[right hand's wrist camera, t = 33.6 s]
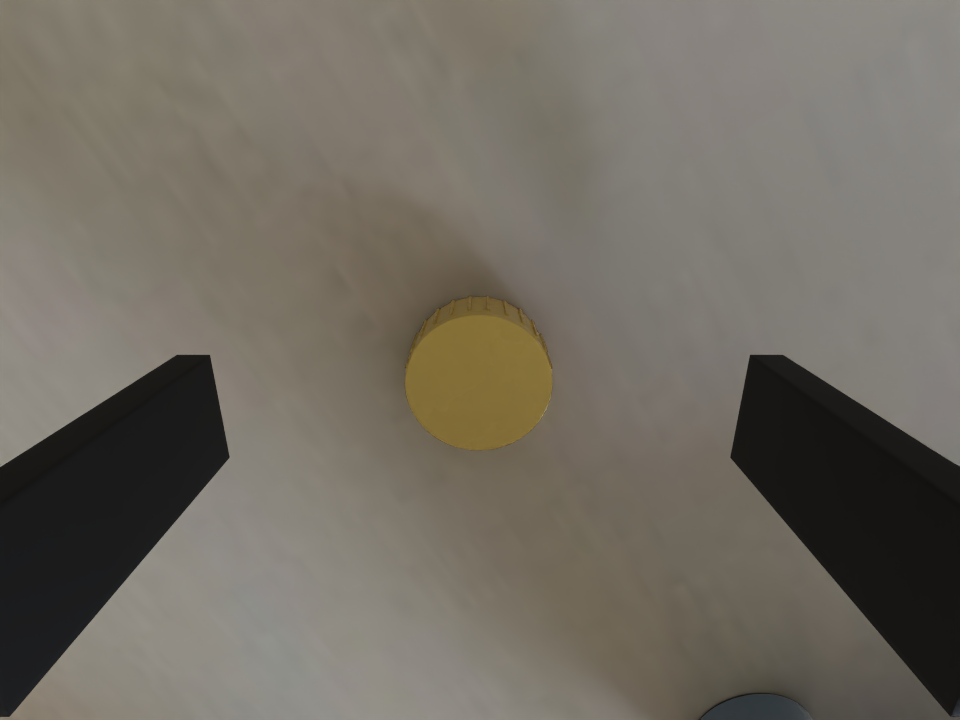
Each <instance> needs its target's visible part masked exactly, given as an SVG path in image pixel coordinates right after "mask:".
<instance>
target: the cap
mask: <svg viewBox="0 0 960 720" xmlns="http://www.w3.org/2000/svg"><path fill="white" fill-rule="evenodd" d="M547 352H548V351H547V348H546V345H545V342H544V340H543V337H542V334H539V333H538V331H537V329H536V327H535V324H534V321H533V320H531V321H530V320H529V318H528V317H527V316H526V315H525V314H523V313H522V310H521V309H520V308H519V309H517V308H515V307H514V306H512V305H510V304H508V303H507V302H506V301H505V300H503V301H500V300H497V299H493V298H489V296H486V297H472V296H469V298H465V299H460V300H457V301H455V300H452V301H451V303H449V304H448V305H446V306H444V307H442V308H441V309H439V308H437V309H436V312H435V313H434V314H433V315H432V316H431V317H430V318H429V319H428V320H426V319H425V321H424V323H423V326H422V329H421V330H420V332H419V334H418V333H416V336H415V338H414V341H413V344H412V346H411V349H410V355H409V357H408V360H407V363H406V365H405V368H406V374H405V390H406V397H407V400H408V403H409V406H410V408H411V410H412V412H413V414H414V416H415V417H416V419H417V420H418V422H419V423H420V424H421V425H422V426H423V427H424V428H425V429H426V430H427V431H428V432H429V433H430V434H432V435H433V436H434V437H436V438H437V439H439V440H441V441H443V442H444V443H447V444H449V445H452V446H454V447H458V448H462V449H468V450H490V449H495V448H500V447H503V446H506V445H509V444H511V443H513V442H515V441H517V440H518V439H520V438H522V437H523V436H525V435H526V434H527V433H528V432H530V431H531V430H532V429H533V428H534V427H535V426H536V425H537V423H538V422H539V421H540V419H541V418H542V416H543V415H544V413H545V411H546V409H547V407H548V404H549V401H550V398H551V393H552V384H553V383H552V372H551V369H552V364H551V362H550V359H549V356H548V353H547Z"/></svg>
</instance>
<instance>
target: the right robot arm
mask: <svg viewBox="0 0 960 720" xmlns="http://www.w3.org/2000/svg"><path fill="white" fill-rule="evenodd" d="M229 458H230V457H229V452H228V447H227V441H226V436H225V431H224V426H223V421H222V415H221V410H220V405H219V400H218V395H217V389H216V384H215V379H214V374H213V369H212V363H211V358H210V355H176V356H175V357H173V358H171V359H170V360H168V361H167V362H165V363H164V364H162V365H160V366H159V367H157V368H156V369H154V370H153V371H151V372H149V373H148V374H146V375H145V376H143V377H142V378H140V379H138V380H137V381H135V382H134V383H132V384H131V385H129V386H127V387H126V388H124V389H123V390H121V391H120V392H118V393H116V394H115V395H113V396H112V397H110V398H109V399H107V400H105V401H104V402H102V403H101V404H99V405H98V406H96V407H94V408H93V409H91V410H90V411H88V412H87V413H85V414H83V415H82V416H80V417H79V418H77V419H75V420H74V421H72V422H71V423H69V424H68V425H66V426H64V427H63V428H61V429H60V430H58V431H57V432H55V433H53V434H52V435H50V436H49V437H47V438H46V439H44V440H42V441H41V442H39V443H38V444H36V445H35V446H33V447H31V448H30V449H28V450H27V451H25V452H24V453H22V454H20V455H19V456H17V457H16V458H14V459H13V460H11V461H9V462H8V463H6V464H5V465H3V466H2V467H0V717H10V716H11V714H12V713H13V712H14V711H15V710H16V708H17V707H18V706H19V705H20V704H21V703H22V701H23V700H24V699H25V698H26V697H27V696H28V694H29V693H30V692H31V691H32V690H33V688H34V687H35V686H36V685H37V684H38V683H39V681H40V680H41V679H42V678H43V677H44V675H45V674H46V673H47V672H48V671H49V670H50V668H51V667H52V666H53V665H54V664H55V663H56V661H57V660H58V659H59V658H60V657H61V655H62V654H63V653H64V652H65V651H66V650H67V648H68V647H69V646H70V645H71V644H72V643H73V641H74V640H75V639H76V638H77V637H78V635H79V634H80V633H81V632H82V631H83V630H84V628H85V627H86V626H87V625H88V624H89V622H90V621H91V620H92V619H93V618H94V617H95V615H96V614H97V613H98V612H99V611H100V610H101V608H102V607H103V606H104V605H105V604H106V602H107V601H108V600H109V599H110V598H111V597H112V595H113V594H114V593H115V592H116V591H117V589H118V588H119V587H120V586H121V585H122V584H123V582H124V581H125V580H126V579H127V578H128V577H129V575H130V574H131V573H132V572H133V571H134V569H135V568H136V567H137V566H138V565H139V564H140V562H141V561H142V560H143V559H144V558H145V557H146V555H147V554H148V553H149V552H150V551H151V549H152V548H153V547H154V546H155V545H156V544H157V542H158V541H159V540H160V539H161V538H162V536H163V535H164V534H165V533H166V532H167V531H168V529H169V528H170V527H171V526H172V525H173V524H174V522H175V521H176V520H177V519H178V518H179V516H180V515H181V514H182V513H183V512H184V511H185V509H186V508H187V507H188V506H189V505H190V504H191V502H192V501H193V500H194V499H195V498H196V496H197V495H198V494H199V493H200V492H201V491H202V489H203V488H204V487H205V486H206V485H207V483H208V482H209V481H210V480H211V479H212V478H213V476H214V475H215V474H216V473H217V472H218V471H219V469H220V468H221V467H222V466H223V465H224V463H225V462H226V461H227V460H228V459H229ZM730 458H731V459H732V460H733V461H734V462H735V463H736V465H737V466H738V467H739V468H740V469H741V471H742V472H743V473H744V474H745V475H746V476H747V478H748V479H749V480H750V481H751V482H752V483H753V485H754V486H755V487H756V488H757V489H758V491H759V492H760V493H761V494H762V495H763V496H764V498H765V499H766V500H767V501H768V502H769V503H770V505H771V506H772V507H773V508H774V509H775V511H776V512H777V513H778V514H779V515H780V516H781V518H782V519H783V520H784V521H785V522H786V524H787V525H788V526H789V527H790V528H791V529H792V531H793V532H794V533H795V534H796V535H797V536H798V538H799V539H800V540H801V541H802V542H803V544H804V545H805V546H806V547H807V548H808V549H809V551H810V552H811V553H812V554H813V555H814V557H815V558H816V559H817V560H818V561H819V562H820V564H821V565H822V566H823V567H824V568H825V569H826V571H827V572H828V573H829V574H830V575H831V577H832V578H833V579H834V580H835V581H836V582H837V584H838V585H839V586H840V587H841V588H842V589H843V591H844V592H845V593H846V594H847V595H848V597H849V598H850V599H851V600H852V601H853V602H854V604H855V605H856V606H857V607H858V608H859V610H860V611H861V612H862V613H863V614H864V615H865V617H866V618H867V619H868V620H869V621H870V622H871V624H872V625H873V626H874V627H875V628H876V630H877V631H878V632H879V633H880V634H881V635H882V637H883V638H884V639H885V640H886V641H887V642H888V644H889V645H890V646H891V647H892V648H893V650H894V651H895V652H896V653H897V654H898V655H899V657H900V658H901V659H902V660H903V661H904V663H905V664H906V665H907V666H908V667H909V668H910V670H911V671H912V672H913V673H914V674H915V675H916V677H917V678H918V679H919V680H920V681H921V683H922V684H923V685H924V686H925V687H926V688H927V690H928V691H929V692H930V693H931V694H932V695H933V697H934V698H935V699H936V700H937V701H938V703H939V704H940V705H941V706H942V707H943V708H944V710H945V711H946V712H947V713H948V714H949V716H950V717H960V466H958V465H956V464H954V463H952V462H951V461H949V460H947V459H946V458H944V457H943V456H941V455H940V454H938V453H936V452H935V451H933V450H932V449H930V448H929V447H927V446H925V445H924V444H922V443H921V442H919V441H918V440H916V439H914V438H913V437H911V436H910V435H908V434H907V433H905V432H903V431H902V430H900V429H899V428H897V427H896V426H894V425H892V424H891V423H889V422H888V421H886V420H885V419H883V418H881V417H880V416H878V415H877V414H875V413H874V412H872V411H870V410H869V409H867V408H866V407H864V406H862V405H861V404H859V403H858V402H856V401H855V400H853V399H851V398H850V397H848V396H847V395H845V394H844V393H842V392H840V391H839V390H837V389H836V388H834V387H833V386H831V385H829V384H828V383H826V382H825V381H823V380H822V379H820V378H818V377H817V376H815V375H814V374H812V373H811V372H809V371H807V370H806V369H804V368H803V367H801V366H800V365H798V364H796V363H795V362H793V361H792V360H790V359H789V358H787V357H785V356H784V355H750V358H749V364H748V369H747V374H746V379H745V384H744V390H743V395H742V400H741V405H740V410H739V416H738V421H737V426H736V431H735V436H734V442H733V447H732V452H731V457H730Z"/></svg>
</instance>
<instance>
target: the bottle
mask: <svg viewBox="0 0 960 720" xmlns="http://www.w3.org/2000/svg"><path fill="white" fill-rule="evenodd" d="M700 720H812V718H811V717H810V715H809V714H808V712H807V711H806V710H805V709H804V708H803V707H802V706H801V705H800V704H798V703H797V702H795V701H793V700H791V699H789V698H786V697H783V696H779V695H773V694H751V695H745V696H740V697H736V698H733V699H731V700H728V701H726V702H723V703H721V704H719V705H718V706H716V707H714V708H713V709H711V710H710V711H709V712H707V713H706V714H705V715H704V716H703V717H702V718H701V719H700Z"/></svg>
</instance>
